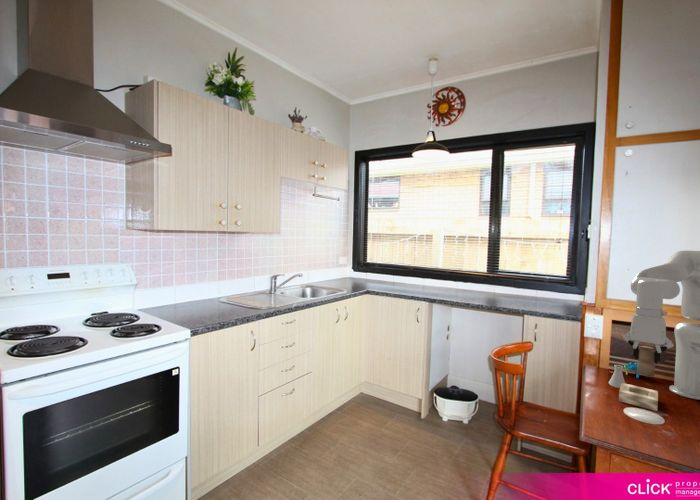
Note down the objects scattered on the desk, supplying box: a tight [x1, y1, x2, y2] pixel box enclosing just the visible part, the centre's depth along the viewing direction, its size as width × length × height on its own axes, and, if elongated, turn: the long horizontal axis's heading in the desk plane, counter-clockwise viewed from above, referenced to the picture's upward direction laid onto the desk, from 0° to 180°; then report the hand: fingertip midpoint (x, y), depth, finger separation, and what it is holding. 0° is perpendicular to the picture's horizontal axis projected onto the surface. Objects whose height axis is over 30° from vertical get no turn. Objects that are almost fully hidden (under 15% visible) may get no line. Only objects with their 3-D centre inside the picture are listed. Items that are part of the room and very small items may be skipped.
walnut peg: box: [636, 345, 657, 378], centre depth 132 cm, size 5×5×10 cm
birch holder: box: [618, 382, 659, 412], centre depth 145 cm, size 12×12×5 cm
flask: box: [608, 364, 627, 389], centre depth 161 cm, size 7×7×10 cm
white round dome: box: [623, 407, 666, 425], centre depth 133 cm, size 12×12×1 cm
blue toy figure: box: [623, 362, 644, 379], centre depth 174 cm, size 11×6×10 cm
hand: (646, 360), depth 132 cm, fingers closed on walnut peg, 5 cm apart
